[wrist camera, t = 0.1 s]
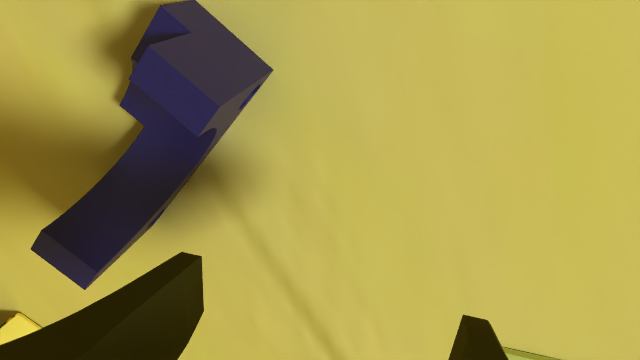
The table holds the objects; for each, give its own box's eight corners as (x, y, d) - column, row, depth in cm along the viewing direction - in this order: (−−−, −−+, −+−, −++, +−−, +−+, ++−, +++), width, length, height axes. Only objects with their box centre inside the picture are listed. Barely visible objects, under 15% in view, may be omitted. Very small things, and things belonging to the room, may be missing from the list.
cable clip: (196, -1, 20) (111, 13, 14) (274, 68, 20) (219, 107, 15) (91, 172, 25) (2, 228, 20) (155, 222, 26) (84, 290, 20)
